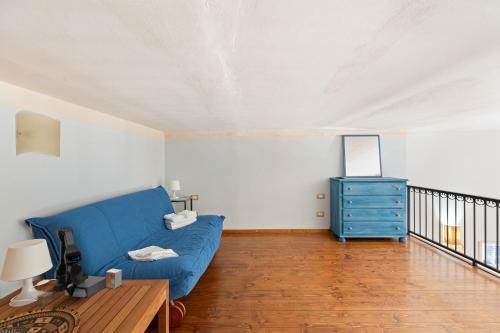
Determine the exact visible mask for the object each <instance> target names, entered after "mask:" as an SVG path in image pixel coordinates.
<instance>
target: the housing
mask: <svg viewBox="0 0 500 333" xmlns="http://www.w3.org/2000/svg"><path fill="white" fill-rule="evenodd" d="M76 287H77V288H87V296H86V298H90V297H91V296H92V295H95V294H97V293H98V292H99V291H102V290H103V289H104V288H107V287H106V276H104V277H103V276H96V275H95V276H94V275H88V279H86V280H85V282H84V283H82V284H80V285H77V286H76Z"/></svg>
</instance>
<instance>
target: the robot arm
mask: <svg viewBox="0 0 500 333" xmlns="http://www.w3.org/2000/svg"><path fill="white" fill-rule="evenodd" d="M73 234H74V228H73V227H72V228H71V226H68V227H67V226H66V227H59V228H58V229H57V230H56V237H57V239H59V241H60V243H59V262H58V264H57V266H56V269H55V271H54V273H53V274H54V276H53V277H54V279H55V280H56V284H55V285H54V286H52V292H59V293H61V292H63V291H64V292H65V290H66V291H67V293H68V294H69V297H74V296H73V293H74V291H75V288H76V286H77V285H80V284H82V283H84V282H85V280H86V279H88V276H89V274H88V273H87V272H85V273H83V272H82V271H83V267H82V266H81V265H80V264H79V262H82V259H83V256H82V251H81V250H80V249H79V247H78V246H77V245H76V243H75V240H74V235H73ZM81 272H82V273H81Z"/></svg>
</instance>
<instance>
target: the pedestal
mask: <svg viewBox="0 0 500 333" xmlns="http://www.w3.org/2000/svg"><path fill="white" fill-rule="evenodd" d="M53 296H54V291H51V292H50V291H45V292H43V293H41V294H38V295H37V300H36V304H37V305H38V306H46V305H48V304H50V303H52V302H54V297H53Z"/></svg>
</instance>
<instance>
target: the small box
mask: <svg viewBox="0 0 500 333" xmlns="http://www.w3.org/2000/svg"><path fill="white" fill-rule="evenodd" d="M122 271H123V270H122V269H115V268H111V269H108V270H107V271H105V277H106V287H105V288H111V289H114V290H115V289H117V288H119V287H121V286H122ZM120 285H121V286H120Z"/></svg>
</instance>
